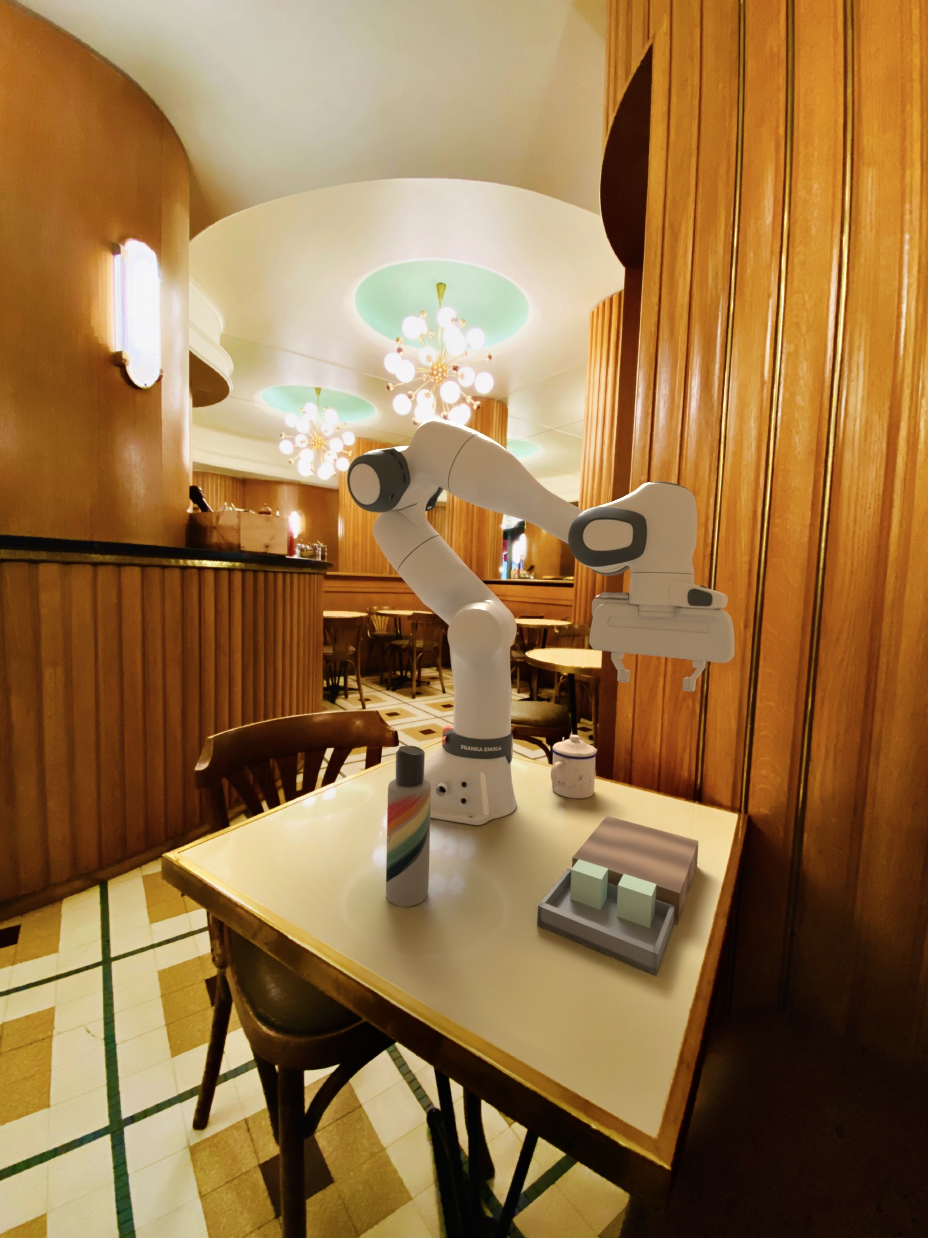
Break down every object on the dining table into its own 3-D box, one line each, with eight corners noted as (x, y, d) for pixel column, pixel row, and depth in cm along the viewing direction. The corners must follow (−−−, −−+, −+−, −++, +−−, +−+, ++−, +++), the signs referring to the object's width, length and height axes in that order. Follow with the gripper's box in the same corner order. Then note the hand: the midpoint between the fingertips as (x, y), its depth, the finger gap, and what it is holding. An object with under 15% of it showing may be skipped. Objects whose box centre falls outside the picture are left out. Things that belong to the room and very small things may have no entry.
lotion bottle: (387, 882, 68) (390, 741, 67) (428, 881, 69) (431, 741, 68) (384, 908, 63) (387, 755, 62) (428, 907, 63) (432, 755, 62)
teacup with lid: (566, 779, 109) (568, 727, 108) (603, 791, 102) (605, 736, 101) (533, 793, 100) (535, 737, 100) (570, 808, 94) (573, 748, 93)
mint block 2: (623, 873, 63) (617, 885, 61) (656, 884, 61) (651, 896, 59) (622, 903, 64) (616, 916, 61) (654, 915, 62) (650, 928, 59)
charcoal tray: (567, 886, 69) (567, 868, 68) (674, 925, 61) (675, 906, 61) (537, 925, 60) (537, 905, 60) (656, 976, 53) (657, 954, 52)
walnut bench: (605, 839, 82) (606, 815, 82) (697, 866, 75) (698, 840, 74) (571, 885, 69) (572, 857, 69) (678, 924, 61) (679, 893, 61)
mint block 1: (578, 859, 67) (571, 869, 64) (608, 868, 65) (601, 879, 62) (577, 887, 67) (570, 899, 64) (606, 898, 65) (600, 910, 62)
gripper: (585, 591, 76) (581, 679, 77) (734, 596, 65) (727, 699, 65) (599, 592, 81) (595, 674, 82) (739, 596, 70) (733, 692, 71)
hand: (655, 685), depth 74 cm, fingers open, 8 cm apart
